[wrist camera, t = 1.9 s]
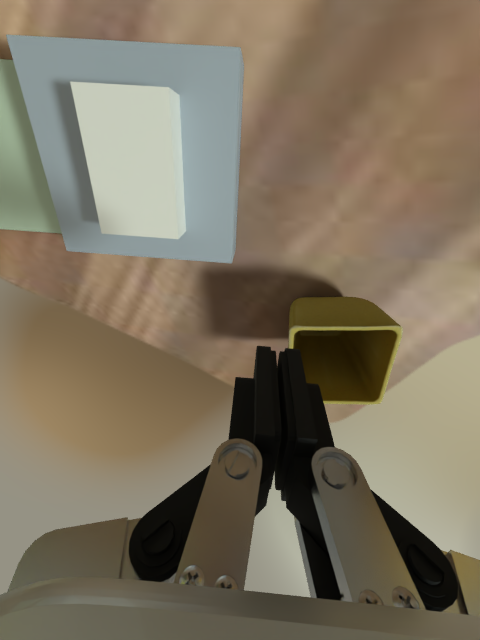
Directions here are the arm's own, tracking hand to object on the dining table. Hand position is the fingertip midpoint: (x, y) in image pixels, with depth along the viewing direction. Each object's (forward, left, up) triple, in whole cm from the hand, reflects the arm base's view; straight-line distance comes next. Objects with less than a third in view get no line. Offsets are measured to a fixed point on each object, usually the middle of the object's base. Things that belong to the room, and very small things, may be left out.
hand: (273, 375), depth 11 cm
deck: (-6, -11, -19) cm, 22 cm away
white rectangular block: (-6, -10, -15) cm, 19 cm away
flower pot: (+8, +7, -19) cm, 22 cm away
